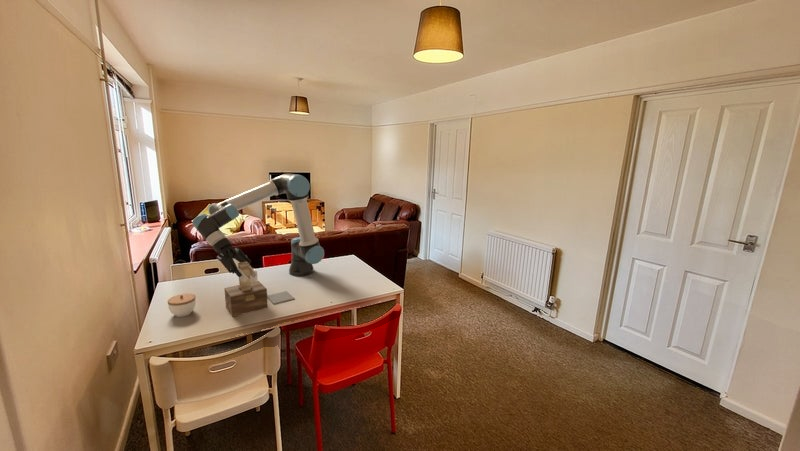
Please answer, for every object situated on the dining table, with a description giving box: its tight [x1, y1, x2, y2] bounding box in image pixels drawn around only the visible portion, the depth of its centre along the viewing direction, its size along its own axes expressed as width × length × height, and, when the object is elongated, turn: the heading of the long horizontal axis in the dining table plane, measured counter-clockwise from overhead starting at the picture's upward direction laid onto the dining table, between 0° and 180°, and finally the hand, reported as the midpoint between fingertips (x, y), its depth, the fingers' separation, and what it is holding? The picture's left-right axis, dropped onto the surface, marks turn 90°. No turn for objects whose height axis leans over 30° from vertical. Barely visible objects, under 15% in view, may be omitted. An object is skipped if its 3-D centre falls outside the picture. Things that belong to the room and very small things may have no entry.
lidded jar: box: [167, 293, 197, 318], centre depth 149 cm, size 11×11×9 cm
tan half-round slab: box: [250, 267, 259, 283], centre depth 176 cm, size 8×8×12 cm
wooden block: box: [237, 262, 251, 292], centre depth 155 cm, size 4×4×14 cm
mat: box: [267, 290, 295, 305], centre depth 170 cm, size 11×11×1 cm
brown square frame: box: [223, 280, 268, 317], centre depth 157 cm, size 13×16×10 cm
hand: (251, 278), depth 154 cm, fingers closed on wooden block, 6 cm apart
